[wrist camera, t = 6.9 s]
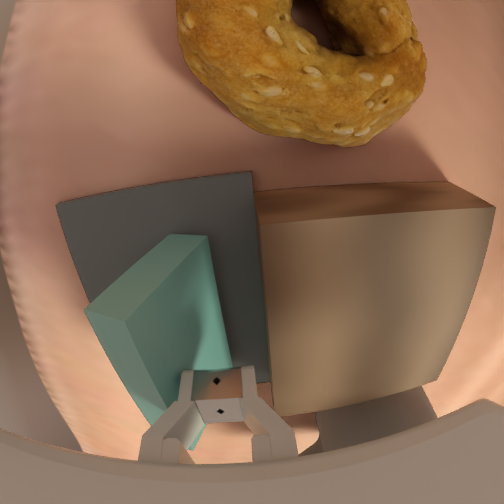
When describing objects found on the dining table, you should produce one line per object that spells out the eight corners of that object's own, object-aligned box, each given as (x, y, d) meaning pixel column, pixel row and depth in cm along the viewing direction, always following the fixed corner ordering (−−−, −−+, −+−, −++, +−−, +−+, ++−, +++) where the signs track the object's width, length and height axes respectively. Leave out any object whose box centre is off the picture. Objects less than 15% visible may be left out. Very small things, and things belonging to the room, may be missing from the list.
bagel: (270, 188, 14) (289, 226, 9) (143, 4, 9) (107, -34, 5) (431, 100, 12) (495, 106, 8) (323, -70, 7) (353, -115, 3)
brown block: (449, 181, 14) (495, 207, 10) (413, 341, 19) (436, 380, 16) (252, 192, 14) (259, 225, 10) (268, 368, 19) (275, 417, 16)
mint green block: (124, 321, 8) (83, 309, 9) (192, 450, 12) (160, 438, 13) (207, 235, 13) (170, 233, 14) (233, 370, 17) (204, 363, 18)
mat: (250, 170, 13) (251, 172, 13) (269, 377, 20) (269, 382, 19) (59, 202, 13) (55, 205, 13) (134, 383, 20) (133, 387, 19)
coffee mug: (424, 353, 20) (477, 451, 11) (410, 410, 25) (441, 486, 16) (265, 402, 21) (278, 521, 12) (288, 448, 26) (300, 532, 17)
